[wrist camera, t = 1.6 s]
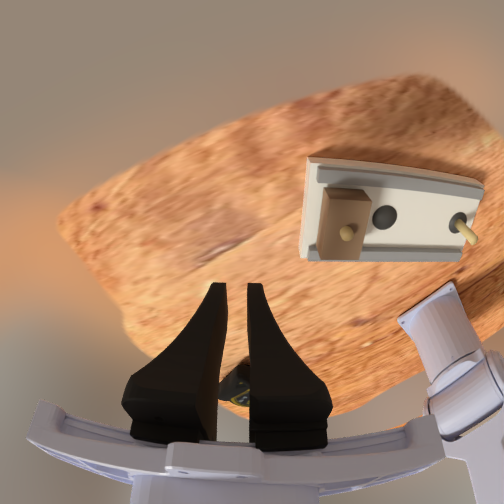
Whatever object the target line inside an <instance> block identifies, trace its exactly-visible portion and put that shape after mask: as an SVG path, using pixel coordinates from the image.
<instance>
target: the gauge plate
mask: <svg viewBox="0 0 504 504" xmlns="http://www.w3.org/2000/svg"><path fill="white" fill-rule="evenodd" d="M323 187H331V188H348V189H362V190H364V191H365V193H366V194H367V195H368V196H369V198H370V199H371V200H372V205H371V210H370V215H369V220H368V224H367V229H366V233H365V237H364V242H363V246H362V250H361V254H360V258H359V260H320V257H319V253H318V250H317V246H316V241H317V234H318V227H319V219H320V212H321V204H322V196H323ZM483 188H484V185H483V184H482V183H480V182H479V181H478V180H476V179H474V178H469V177H465V176H460V175H454V174H449V173H444V172H438V171H432V170H426V169H420V168H413V167H407V166H399V165H392V164H384V163H375V162H366V161H356V160H345V159H333V158H318V157H307V165H306V177H305V189H304V200H303V210H302V220H301V230H300V239H299V252H300V257H301V258H308V261H341V262H459V261H460V258H461V256H462V249H463V247H464V244H465V242H466V239H467V240H468V241H469V242H470V244H471V245H474V244H476V243H477V241H478V237H477V235H476V234H475V233H474V232H473V231H472V230H471V229H470V228H471V226H472V223H473V220H474V217H475V214H476V211H477V208H478V205H479V201H480V200H482V197H483V194H484V191H485V190H484V189H483Z"/></svg>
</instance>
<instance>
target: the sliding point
mask: <svg viewBox="0 0 504 504" xmlns="http://www.w3.org/2000/svg"><path fill="white" fill-rule="evenodd" d="M371 205H372V200H371V199H370V198H369V196H368V195H367V194H366V193H365V191H364V190H362V189H348V188H331V187H323V196H322V204H321V212H320V219H319V227H318V234H317V241H316V246H317V250H318V253H319V257H320V260H359V258H360V254H361V250H362V246H363V242H364V237H365V233H366V229H367V224H368V220H369V215H370V210H371Z"/></svg>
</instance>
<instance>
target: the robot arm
mask: <svg viewBox="0 0 504 504" xmlns="http://www.w3.org/2000/svg"><path fill="white" fill-rule="evenodd" d="M227 321H228V305H227V291H226V283H216V282H213V283H212V284H211V286H210V288H209V290H208V292H207V294H206V296H205V298H204V299H203V301H202V303H201V305H200V306H199V308H198V309H197V311H196V312H195V314H194V315H193V317H192V318H191V320H190V321H189V322H188V324H187V325H186V326H185V328H184V329H183V330H182V331H181V333H180V334H179V335H178V336H177V337H176V338H175V339H174V341H173V342H172V343H171V344H170V345H169V346H168V347H167V348H166V349H165V350H164V351H163V352H161V353H160V354H159V355H158V356H157V357H156V358H154V359H153V360H152V361H151V362H150V363H148V364H147V365H146V366H145V367H143V368H142V369H140V370H139V371H137V372H136V373H134V374H133V375H131V377H130V379H129V381H128V383H127V385H126V388H125V391H124V394H123V398H122V402H121V404H122V406H123V408H124V409H125V411H126V412H127V413H128V414H129V416H130V417H131V418H132V419H133V421H132V425H131V430H129V429H123V428H119V427H115V426H111V425H107V424H103V423H99V422H95V421H91V420H88V419H84V418H81V417H78V416H74V415H71V414H68V413H66V412H65V411H64V410H63V409H62V408H61V407H60V406H58V405H56V404H53V403H51V402H48V401H45V400H42V399H40V400H39V402H38V404H37V407H36V410H35V412H34V415H33V418H32V421H31V423H30V426H29V429H28V432H27V436H26V439H27V440H28V441H30V442H31V443H33V444H34V445H36V446H37V447H39V448H40V449H42V450H43V451H45V452H46V453H48V454H49V455H51V456H53V457H55V458H58V459H60V460H63V461H65V462H68V463H70V464H72V465H75V466H77V467H80V468H83V469H86V470H88V471H91V472H93V473H96V474H99V475H102V476H105V477H108V478H111V479H114V480H117V481H121V482H124V483H127V484H131V485H133V486H132V492H131V499H130V504H319V497H320V496H326V495H333V494H338V493H343V492H348V491H353V490H357V489H362V488H367V487H371V486H374V485H378V484H382V483H386V482H389V481H393V480H396V479H400V478H403V477H406V476H410V475H413V474H416V473H419V472H421V471H423V470H425V469H427V468H429V467H430V466H432V465H434V464H436V463H438V462H439V461H441V460H443V459H444V458H445V457H448V458H454V459H459V460H463V461H466V464H467V467H468V471H469V475H470V478H471V482H472V486H473V490H474V495H475V499H476V503H477V504H504V358H503V357H502V355H501V354H500V353H499V352H498V351H494V350H489V351H488V352H486V351H485V349H484V347H483V345H482V343H481V341H480V339H479V337H478V335H477V334H476V332H475V330H474V328H473V326H472V324H471V323H470V321H469V319H468V317H467V316H466V313H465V310H464V308H463V305H462V303H461V300H460V298H459V295H458V293H457V290H456V288H455V286H454V284H453V282H452V281H450V282H448V283H447V284H445V285H444V286H443V287H441V288H440V289H439V290H437V291H436V292H434V293H433V294H432V295H430V296H429V297H427V298H426V299H425V300H423V301H422V302H420V303H419V304H417V305H416V306H415V307H413V308H412V309H410V310H409V311H407V312H406V313H404V314H403V315H401V316H400V317H398V319H397V321H398V323H399V324H400V326H401V327H402V328H403V329H404V330H405V332H406V333H407V334H408V335H409V336H410V338H411V339H412V340H413V341H414V343H415V345H416V347H417V350H418V352H419V355H420V357H421V360H422V363H423V365H424V368H425V371H426V373H427V376H428V379H429V381H430V384H431V386H430V387H428V388H427V392H428V396H429V397H427V398H426V399H425V401H424V407H423V416H422V417H418V418H415V419H412V420H410V421H409V422H407V423H406V425H405V426H404V427H400V428H395V429H390V430H386V431H381V432H376V433H370V434H364V435H358V436H350V437H343V438H335V439H327V431H326V429H327V427H328V425H327V418H328V416H329V415H330V413H331V411H332V408H333V405H332V400H331V397H330V394H329V391H328V389H327V387H326V385H325V383H324V382H323V381H322V380H321V379H319V378H318V377H317V376H316V375H315V374H314V373H313V372H312V371H311V370H310V369H309V368H308V367H307V365H306V364H305V363H304V362H303V361H302V360H301V358H300V357H299V356H298V355H297V354H296V352H295V351H294V350H293V348H292V347H291V346H290V344H289V343H288V341H287V340H286V338H285V337H284V335H283V333H282V332H281V330H280V328H279V326H278V325H277V323H276V321H275V319H274V317H273V314H272V312H271V310H270V308H269V305H268V303H267V300H266V297H265V294H264V290H263V285H262V284H261V283H248V287H247V332H248V345H249V357H250V390H249V443H240V442H239V443H238V442H218V441H216V438H217V407H218V389H219V375H220V367H221V361H222V356H223V350H224V344H225V339H226V333H227ZM500 408H502V409H501V410H500V412H499V413H498V414H497V415H496V416H495V417H493V418H492V419H491V420H489V421H488V422H486V423H485V424H483V425H482V426H480V427H479V428H477V429H475V430H474V431H472V432H470V433H469V434H467V435H465V436H464V437H462V436H459V435H460V434H462V433H464V432H465V431H467V430H469V429H470V428H472V427H473V426H475V425H477V424H478V423H480V422H481V421H483V420H484V419H486V418H487V417H489V416H490V415H492V414H493V413H495V412H496V411H497V410H499V409H500Z"/></svg>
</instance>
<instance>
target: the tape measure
mask: <svg viewBox="0 0 504 504" xmlns="http://www.w3.org/2000/svg"><path fill="white" fill-rule="evenodd" d="M249 390H250V366H247V365H238V366H236V367H235V368H234V369H233V371H232V372H231V373H230V374H229V375H228V376H227V377H226V378H224V379H223V380H222V381H221V382H220V383H219V389H218V399H219V400H223V401H230V402H231V403H233V404H235V405H238V406H243V407H249Z"/></svg>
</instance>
